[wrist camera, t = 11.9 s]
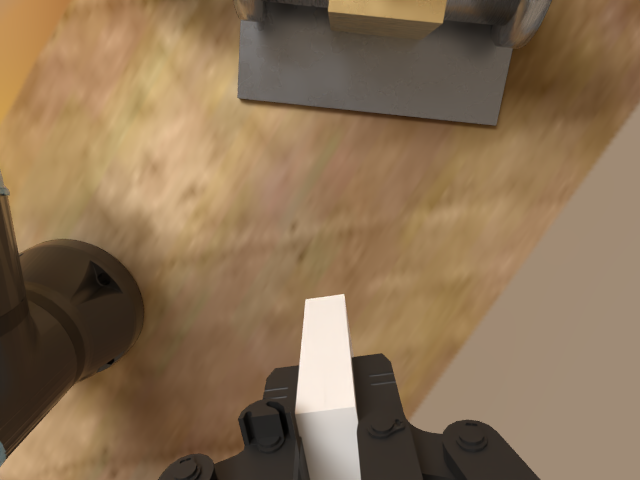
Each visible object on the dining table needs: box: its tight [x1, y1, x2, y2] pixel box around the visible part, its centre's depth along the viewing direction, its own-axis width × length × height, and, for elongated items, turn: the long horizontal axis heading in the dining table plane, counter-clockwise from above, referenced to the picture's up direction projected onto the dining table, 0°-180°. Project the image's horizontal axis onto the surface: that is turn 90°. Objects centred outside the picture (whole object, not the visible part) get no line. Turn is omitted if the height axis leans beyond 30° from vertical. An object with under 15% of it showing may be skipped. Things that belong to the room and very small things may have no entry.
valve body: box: [233, 0, 552, 125], centre depth 35 cm, size 24×15×10 cm, turn 84°
